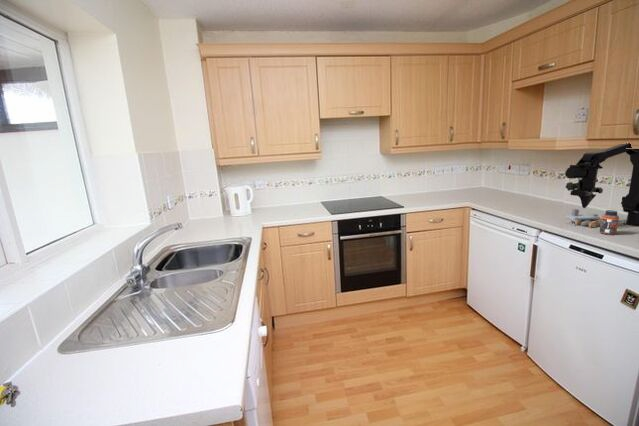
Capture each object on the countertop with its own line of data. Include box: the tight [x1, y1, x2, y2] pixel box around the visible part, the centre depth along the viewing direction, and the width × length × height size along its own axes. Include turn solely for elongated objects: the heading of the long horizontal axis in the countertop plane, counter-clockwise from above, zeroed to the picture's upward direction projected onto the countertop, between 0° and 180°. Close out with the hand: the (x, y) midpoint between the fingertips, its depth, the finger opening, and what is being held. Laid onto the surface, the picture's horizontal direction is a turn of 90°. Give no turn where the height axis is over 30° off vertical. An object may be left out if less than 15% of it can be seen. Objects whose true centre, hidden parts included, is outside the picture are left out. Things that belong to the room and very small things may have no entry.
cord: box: [580, 220, 593, 227], centre depth 159 cm, size 7×3×3 cm, turn 115°
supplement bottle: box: [599, 209, 620, 236], centre depth 144 cm, size 6×6×11 cm
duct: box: [574, 218, 602, 229], centre depth 160 cm, size 13×7×3 cm, turn 117°
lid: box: [565, 208, 601, 221], centre depth 162 cm, size 14×6×4 cm, turn 87°
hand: (584, 207), depth 155 cm, fingers closed
